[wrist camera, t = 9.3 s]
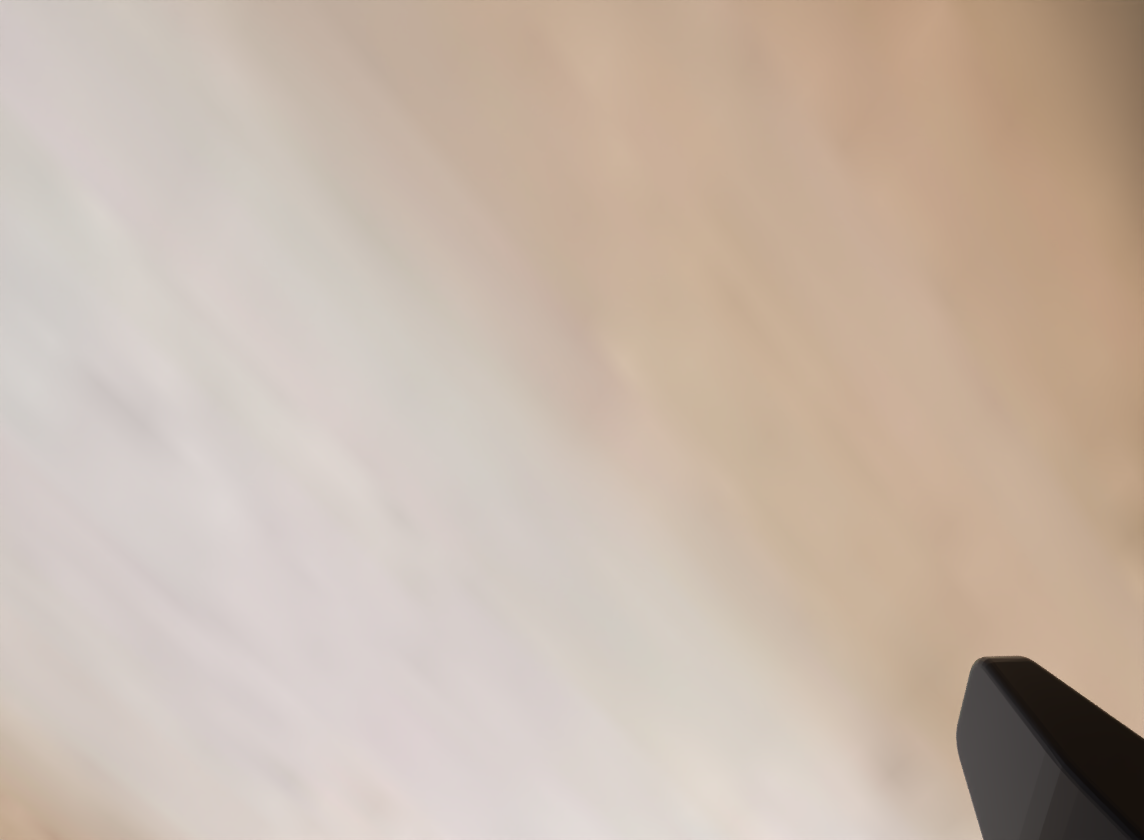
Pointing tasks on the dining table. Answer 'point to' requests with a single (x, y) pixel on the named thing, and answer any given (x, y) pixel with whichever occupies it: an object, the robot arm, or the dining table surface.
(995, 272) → the dining table surface
